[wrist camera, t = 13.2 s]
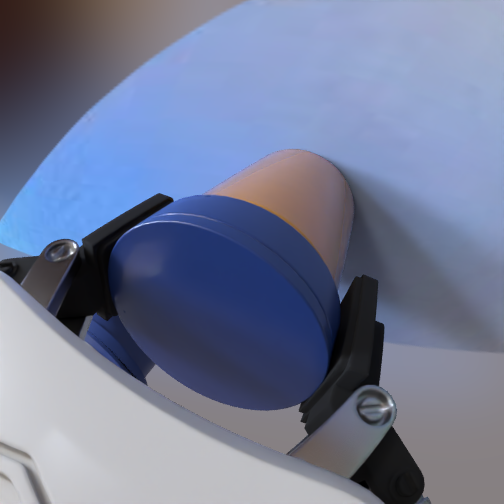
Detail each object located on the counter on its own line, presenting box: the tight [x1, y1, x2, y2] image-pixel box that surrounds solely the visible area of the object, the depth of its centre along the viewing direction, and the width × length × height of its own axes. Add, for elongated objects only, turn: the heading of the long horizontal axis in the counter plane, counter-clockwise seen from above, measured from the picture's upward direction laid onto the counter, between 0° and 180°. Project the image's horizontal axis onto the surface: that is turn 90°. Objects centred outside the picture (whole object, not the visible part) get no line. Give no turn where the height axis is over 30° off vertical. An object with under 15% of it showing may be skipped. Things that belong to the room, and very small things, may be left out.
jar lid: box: [108, 195, 341, 411], centre depth 8 cm, size 7×7×2 cm
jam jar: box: [202, 149, 355, 291], centre depth 12 cm, size 6×6×9 cm
